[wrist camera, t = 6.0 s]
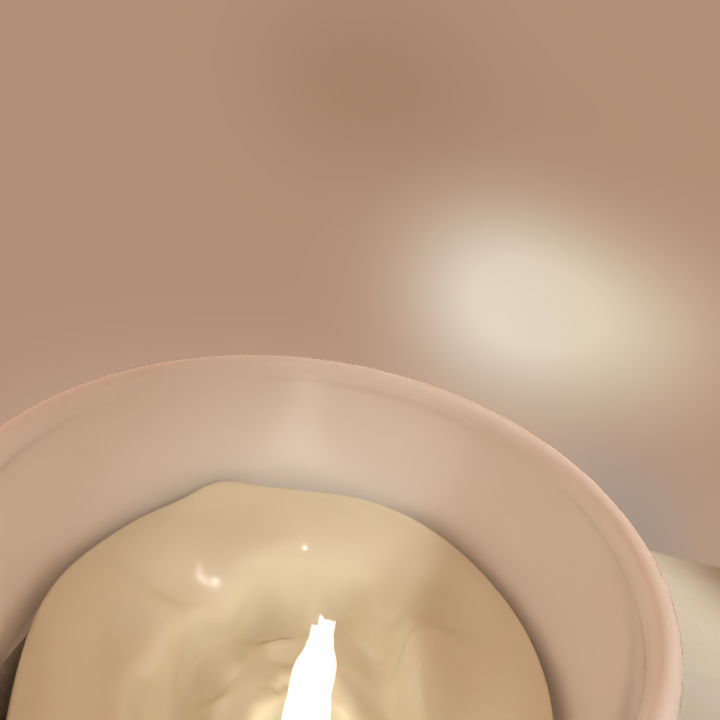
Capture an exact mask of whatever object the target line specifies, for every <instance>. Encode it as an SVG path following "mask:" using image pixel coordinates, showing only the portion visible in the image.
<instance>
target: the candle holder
mask: <svg viewBox="0 0 720 720" xmlns="http://www.w3.org/2000/svg"><path fill="white" fill-rule="evenodd" d="M40 604H41V605H40ZM38 607H39V608H38ZM37 608H38V611H37V613H36V615H35V617H34V619H33V622H32V624H31V627H30V629H29V632H28V635H27V637H26V640H25V643H24V647H23V650H22V653H21V656H20V660H19V663H18V667H17V671H16V675H15V679H14V683H13V685H12V683H11V681H10V679H9V676H8V674H7V672H6V669H5V667H4V665H3V661H4V659H5V657H6V655H7V653H8V651H9V650H10V648H11V646H12V644H13V643H14V641H15V639H16V638H17V636H18V635H19V633H20V631H21V630H22V628H23V627H24V625H25V624H26V623H27V621H28V620H29V618H30V617H31V616H32V614H33V613H34V612H35V611H36V609H37ZM682 690H683V652H682V643H681V636H680V630H679V625H678V621H677V617H676V613H675V609H674V606H673V602H672V599H671V596H670V594H669V591H668V588H667V586H666V583H665V581H664V579H663V577H662V574H661V572H660V570H659V568H658V566H657V564H656V562H655V560H654V558H653V556H652V555H651V553H650V551H649V549H648V548H647V546H646V544H645V543H644V541H643V540H642V538H641V537H640V535H639V534H638V532H637V531H636V529H635V528H634V527H633V525H632V524H631V522H630V521H629V520H628V519H627V517H626V516H625V515H624V514H623V512H622V511H621V510H620V509H619V508H618V506H617V505H616V504H615V503H614V502H613V501H612V500H611V499H610V498H609V496H608V495H607V494H606V493H605V492H604V491H603V490H602V489H601V488H600V487H599V486H598V485H597V484H596V483H595V482H594V481H593V480H592V479H591V478H589V476H587V475H586V474H585V473H584V472H583V471H582V470H581V469H580V468H578V467H577V466H576V465H575V464H573V463H572V462H571V461H570V460H568V459H567V458H566V457H565V456H564V455H562V454H561V453H560V452H558V451H557V450H555V449H554V448H553V447H551V446H550V445H549V444H547V443H546V442H544V441H543V440H541V439H540V438H538V437H537V436H535V435H534V434H532V433H531V432H529V431H527V430H526V429H524V428H522V427H520V426H519V425H517V424H516V423H514V422H512V421H510V420H508V419H507V418H505V417H503V416H501V415H499V414H497V413H495V412H493V411H491V410H489V409H487V408H485V407H483V406H481V405H479V404H477V403H474V402H472V401H470V400H468V399H465V398H463V397H461V396H458V395H456V394H454V393H451V392H448V391H446V390H443V389H440V388H438V387H435V386H432V385H429V384H426V383H423V382H420V381H417V380H414V379H411V378H408V377H404V376H400V375H397V374H393V373H390V372H386V371H382V370H377V369H373V368H369V367H364V366H359V365H354V364H348V363H343V362H337V361H330V360H323V359H315V358H306V357H295V356H281V355H219V356H205V357H195V358H186V359H179V360H172V361H165V362H160V363H155V364H149V365H144V366H140V367H135V368H131V369H127V370H123V371H120V372H116V373H112V374H109V375H106V376H102V377H99V378H96V379H93V380H90V381H88V382H85V383H82V384H79V385H77V386H74V387H72V388H69V389H67V390H65V391H62V392H60V393H58V394H56V395H53V396H51V397H49V398H47V399H45V400H43V401H41V402H39V403H37V404H35V405H33V406H32V407H30V408H28V409H26V410H25V411H23V412H21V413H19V414H18V415H16V416H15V417H13V418H11V419H10V420H8V421H7V422H5V423H4V424H2V425H1V426H0V720H553V716H554V720H678V718H679V712H680V707H681V700H682ZM552 712H553V714H552Z"/></svg>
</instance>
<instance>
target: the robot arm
mask: <svg viewBox="0 0 720 720" xmlns="http://www.w3.org/2000/svg"><path fill="white" fill-rule="evenodd" d="M40 605H41V604H40ZM38 608H39V607H38ZM38 608H37V609H36V611H35V612H34V613H33V614H32V616H31V617H30V618H29V620H28V621H27V623H26V624H25V625H24V627H23V628H22V630H21V631H20V633H19V635H18V636H17V638H16V639H15V641H14V643H13V644H12V646H11V648H10V650H9V651H8V653H7V655H6V657H5V659H4V661H3V665H4V667H5V669H6V672H7V674H8V676H9V679H10V681H11V683H12V685H13V683H14V679H15V675H16V671H17V667H18V663H19V660H20V656H21V653H22V650H23V647H24V643H25V640H26V637H27V635H28V632H29V629H30V627H31V624H32V622H33V619H34V617H35V615H36V613H37V611H38ZM552 714H553V712H552ZM553 720H554V716H553Z"/></svg>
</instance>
